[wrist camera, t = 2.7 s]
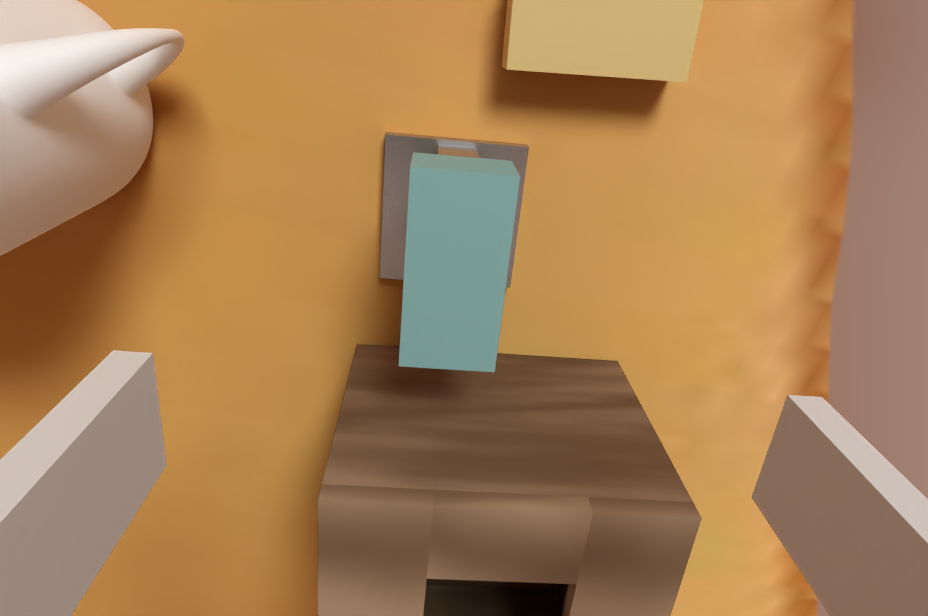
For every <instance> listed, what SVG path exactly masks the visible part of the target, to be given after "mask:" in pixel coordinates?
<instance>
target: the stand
mask: <svg viewBox="0 0 928 616" xmlns="http://www.w3.org/2000/svg"><path fill="white" fill-rule="evenodd" d="M528 149H529V147H528V146H527V145H524V144H513V143H502V142H491V141H479V140H468V139H457V138H446V137H435V136H423V135H412V134H401V133H390V132H386V135H385V160H384V184H383V208H382V233H381V257H380V278H386V279H399V280H404V265H405V248H406V231H407V213H408V196H409V179H410V165H411V160H412V155H413V152H416V153H427V154H439V155H450V156H462V157H473V158H484V159H496V160H507V161H512V162H513V164H514V166H515V168H516V169H517V171H518V173H519V175H520V182H519V189H518V197H517V205H516V212H515V220H514V228H513V235H512V243H511V251H510V258H509V266H508V274H507V281H506V287H510V284H511V277H512V269H513V262H514V254H515V247H516V239H517V232H518V224H519V217H520V209H521V202H522V194H523V187H524V179H525V172H526V164H527V157H528Z"/></svg>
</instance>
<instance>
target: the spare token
mask: <svg viewBox="0 0 928 616" xmlns="http://www.w3.org/2000/svg"><path fill="white" fill-rule="evenodd" d="M703 1H704V0H507V9H506V20H505V32H504V43H503V55H502V67H503V68H505V69H506V70H520V71H534V72H548V73H562V74H576V75H590V76H604V77H618V78H633V79H647V80H661V81H675V82H687V80H688V76H689V71H690V66H691V61H692V56H693V51H694V46H695V41H696V36H697V31H698V26H699V21H700V16H701V11H702V6H703Z"/></svg>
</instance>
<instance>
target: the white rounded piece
mask: <svg viewBox="0 0 928 616" xmlns="http://www.w3.org/2000/svg"><path fill="white" fill-rule="evenodd" d="M183 47H184V38H183V36H182V34H181V33H180V32H179V31H177V30H173V29H158V28H138V29H120V30H113V28H112V27H111V26H110V25H109V24H108V23H106V22H105V21H104V20H103V19H102V18H101V17H100V16H99V15H98V14H96V13H95V12H94V11H92V10H91V9H89V8H88V7H87V6H85V5H84V4H82V3H80V2H79V1H77V0H0V256H1V255H3V254H5V253H7V252H9V251H11V250H13V249H15V248H16V247H18V246H20V245H22V244H24V243H26V242H28V241H30V240H32V239H33V238H35V237H37V236H39V235H41V234H43V233H45V232H47V231H49V230H51V229H52V228H54V227H56V226H58V225H60V224H62V223H64V222H66V221H68V220H69V219H71V218H73V217H75V216H77V215H79V214H81V213H83V212H85V211H86V210H88V209H90V208H92V207H94V206H96V205H98V204H100V203H101V202H103V201H105V200H106V199H108V198H109V197H111V196H113V195H114V194H116V193H117V192H119V191H120V190H121V189H122V188H123V187H125V186H126V185H127V184H128V183H129V182H130V181H131V180H132V178H133V177H134V176H135V175H136V173H137V172H138V171H139V169H140V168H141V166H142V164H143V163H144V161H145V159H146V156H147V154H148V151H149V149H150V144H151V140H152V135H153V108H152V103H151V97H150V93H149V89H148V86H147V84H148V83H150V82H151V81H152V80H153V79H155V78H156V77H157V76H159V75H160V74H161V73H162V72H163V71H165V70H166V69H167V68H168V67H169V66H170V65H171V64H172V63H173V62H174V61H175V59H176V58H177V57H178V56H179V54H180V53H181V52H182V49H183Z"/></svg>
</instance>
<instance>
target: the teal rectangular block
mask: <svg viewBox="0 0 928 616" xmlns="http://www.w3.org/2000/svg"><path fill="white" fill-rule="evenodd" d="M519 182H520V175H519V173H518V171H517V169H516V168H515V166H514V164H513V162H512V161H507V160H496V159H484V158H473V157H462V156H450V155H439V154H427V153H416V152H413V155H412V160H411V165H410V179H409V196H408V213H407V231H406V248H405V265H404V283H403V300H402V317H401V334H400V352H399V366H402V367H418V368H434V369H450V370H466V371H482V372H495V366H496V358H497V351H498V343H499V335H500V327H501V320H502V312H503V304H504V297H505V289H506V281H507V274H508V266H509V258H510V251H511V243H512V235H513V228H514V220H515V212H516V205H517V197H518V189H519Z"/></svg>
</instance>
